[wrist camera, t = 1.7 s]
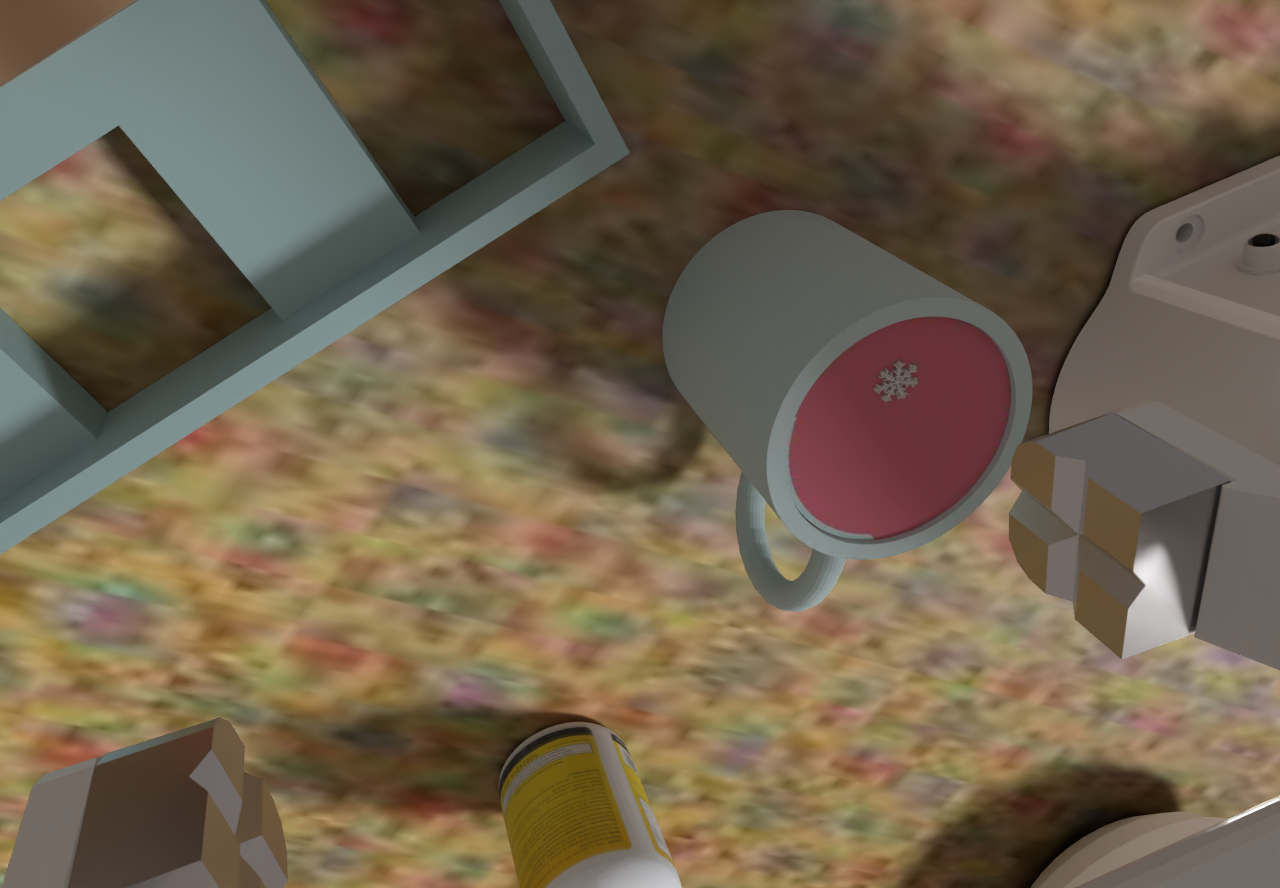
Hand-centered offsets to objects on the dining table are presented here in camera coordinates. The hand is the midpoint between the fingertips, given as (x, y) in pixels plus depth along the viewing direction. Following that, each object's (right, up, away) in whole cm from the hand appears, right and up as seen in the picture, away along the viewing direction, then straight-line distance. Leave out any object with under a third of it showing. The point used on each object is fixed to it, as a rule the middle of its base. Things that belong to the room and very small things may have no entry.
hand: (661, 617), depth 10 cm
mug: (+4, +5, +30) cm, 30 cm away
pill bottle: (-4, -14, +37) cm, 40 cm away
